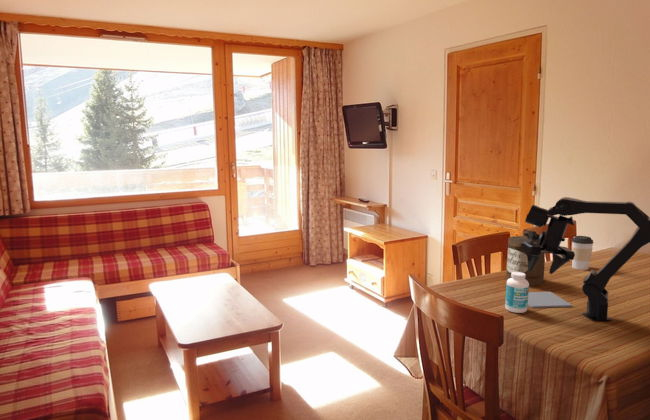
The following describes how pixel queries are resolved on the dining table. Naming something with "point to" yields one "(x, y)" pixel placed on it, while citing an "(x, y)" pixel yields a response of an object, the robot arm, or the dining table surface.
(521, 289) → the pill bottle
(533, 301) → the slate mat
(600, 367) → the dining table surface
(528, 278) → the labeled lidded canister
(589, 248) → the coffee cup
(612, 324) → the dining table surface
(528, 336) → the dining table surface
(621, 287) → the dining table surface
